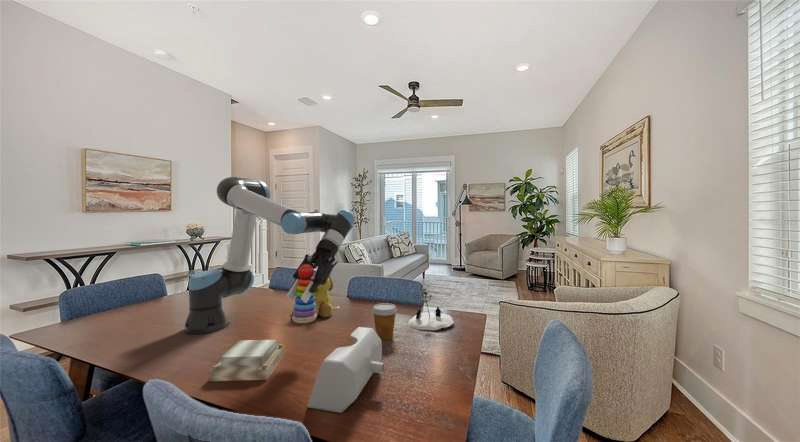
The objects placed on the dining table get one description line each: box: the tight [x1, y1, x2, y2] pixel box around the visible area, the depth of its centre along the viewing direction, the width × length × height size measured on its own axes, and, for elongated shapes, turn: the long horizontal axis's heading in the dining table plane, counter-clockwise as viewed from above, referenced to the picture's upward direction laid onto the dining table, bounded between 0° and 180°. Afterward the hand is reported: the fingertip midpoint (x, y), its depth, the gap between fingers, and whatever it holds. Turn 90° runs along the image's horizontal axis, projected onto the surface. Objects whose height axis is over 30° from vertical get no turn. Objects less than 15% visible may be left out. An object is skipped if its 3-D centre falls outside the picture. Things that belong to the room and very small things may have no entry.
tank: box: [306, 326, 385, 414], centre depth 86 cm, size 25×16×12 cm, turn 166°
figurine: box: [408, 287, 454, 331], centre depth 135 cm, size 20×18×16 cm
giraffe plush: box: [311, 275, 341, 318], centre depth 151 cm, size 20×24×19 cm
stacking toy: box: [291, 264, 318, 324], centre depth 105 cm, size 8×8×19 cm
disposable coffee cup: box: [371, 302, 398, 341], centre depth 120 cm, size 10×10×12 cm
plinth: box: [209, 339, 286, 382], centre depth 97 cm, size 16×16×6 cm
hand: (296, 299), depth 101 cm, fingers closed on stacking toy, 5 cm apart
